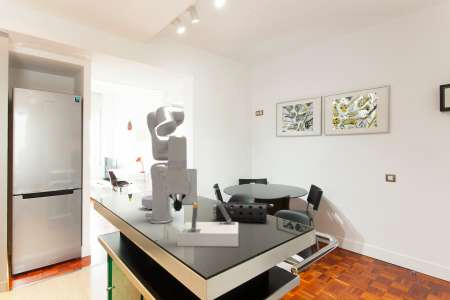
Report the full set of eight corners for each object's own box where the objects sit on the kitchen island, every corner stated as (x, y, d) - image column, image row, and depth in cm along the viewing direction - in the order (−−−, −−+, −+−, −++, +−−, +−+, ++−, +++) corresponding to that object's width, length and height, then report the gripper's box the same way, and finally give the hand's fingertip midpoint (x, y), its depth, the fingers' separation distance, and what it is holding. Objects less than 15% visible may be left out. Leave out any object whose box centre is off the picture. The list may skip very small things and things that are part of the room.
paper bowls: (159, 211, 155) (159, 199, 155) (137, 210, 158) (137, 198, 158) (168, 206, 170) (168, 195, 170) (148, 205, 173) (148, 194, 173)
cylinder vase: (177, 204, 176) (177, 169, 176) (183, 201, 188) (183, 168, 188) (194, 205, 174) (193, 169, 174) (199, 201, 186) (198, 168, 186)
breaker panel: (177, 245, 96) (177, 232, 96) (186, 232, 112) (186, 221, 112) (238, 246, 95) (238, 233, 95) (238, 233, 111) (238, 221, 111)
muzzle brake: (266, 225, 123) (266, 204, 123) (212, 222, 129) (212, 203, 129) (266, 220, 133) (266, 201, 133) (216, 218, 138) (216, 199, 138)
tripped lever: (190, 231, 97) (192, 204, 97) (192, 228, 101) (194, 202, 101) (194, 231, 97) (196, 204, 97) (196, 228, 101) (198, 202, 101)
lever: (228, 224, 107) (216, 203, 108) (228, 222, 111) (216, 201, 111) (231, 222, 107) (219, 201, 108) (231, 220, 111) (219, 199, 111)
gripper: (156, 166, 96) (156, 212, 96) (193, 165, 96) (194, 212, 95) (162, 165, 104) (162, 208, 104) (197, 165, 103) (197, 208, 103)
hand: (177, 210), depth 99 cm, fingers closed
